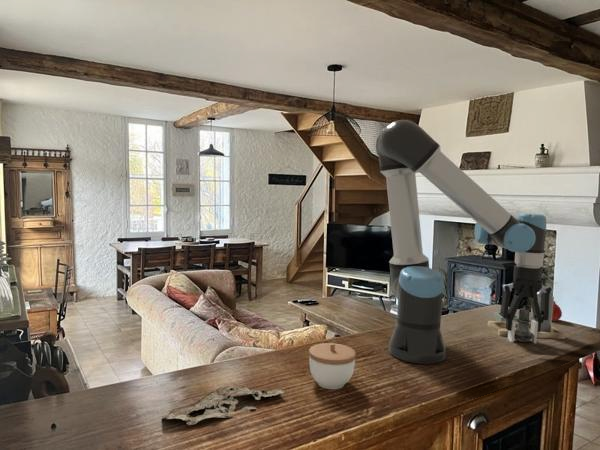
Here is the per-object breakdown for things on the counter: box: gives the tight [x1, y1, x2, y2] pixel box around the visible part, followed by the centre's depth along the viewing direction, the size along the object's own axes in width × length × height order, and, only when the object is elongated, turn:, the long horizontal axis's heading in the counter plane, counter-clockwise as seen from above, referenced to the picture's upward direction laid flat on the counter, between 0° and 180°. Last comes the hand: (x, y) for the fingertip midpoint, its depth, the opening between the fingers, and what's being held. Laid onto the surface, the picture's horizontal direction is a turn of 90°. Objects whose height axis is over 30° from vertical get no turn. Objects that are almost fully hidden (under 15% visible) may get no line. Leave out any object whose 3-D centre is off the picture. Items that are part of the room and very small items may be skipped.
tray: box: [487, 320, 566, 340], centre depth 145 cm, size 20×10×2 cm, turn 87°
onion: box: [552, 300, 563, 322], centre depth 160 cm, size 6×6×8 cm
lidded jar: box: [308, 342, 357, 390], centre depth 104 cm, size 11×11×9 cm
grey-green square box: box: [493, 311, 519, 322], centre depth 157 cm, size 7×7×3 cm
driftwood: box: [161, 385, 285, 426], centre depth 91 cm, size 25×10×5 cm
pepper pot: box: [529, 289, 555, 332], centre depth 145 cm, size 6×6×14 cm
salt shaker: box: [514, 305, 533, 343], centre depth 136 cm, size 6×6×12 cm
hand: (521, 341), depth 136 cm, fingers closed on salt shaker, 6 cm apart
